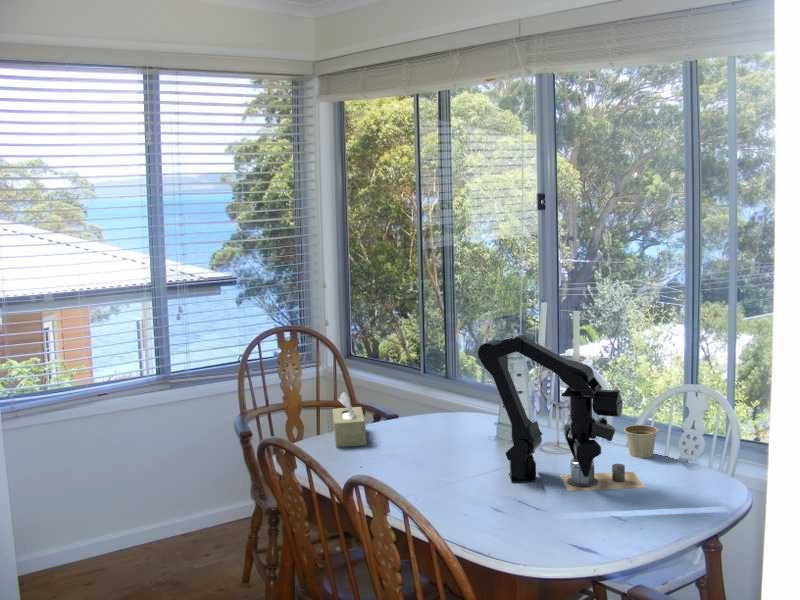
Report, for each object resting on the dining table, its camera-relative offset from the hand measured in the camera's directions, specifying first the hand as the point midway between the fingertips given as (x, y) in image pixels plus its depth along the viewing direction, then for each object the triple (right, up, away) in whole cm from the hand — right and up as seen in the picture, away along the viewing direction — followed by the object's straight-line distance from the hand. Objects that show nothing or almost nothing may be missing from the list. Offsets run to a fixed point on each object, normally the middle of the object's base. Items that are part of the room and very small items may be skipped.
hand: (582, 470), depth 220 cm
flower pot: (+21, -1, +20) cm, 29 cm away
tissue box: (-65, -1, +55) cm, 85 cm away
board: (+5, -4, 0) cm, 7 cm away
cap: (0, -3, 0) cm, 3 cm away
